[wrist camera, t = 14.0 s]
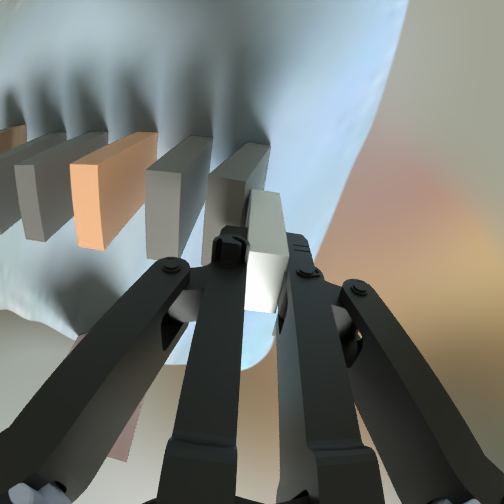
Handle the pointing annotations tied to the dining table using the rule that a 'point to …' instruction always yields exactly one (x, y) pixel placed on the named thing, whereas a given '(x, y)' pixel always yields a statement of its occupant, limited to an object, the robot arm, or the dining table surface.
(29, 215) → the domino
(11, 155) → the domino
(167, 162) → the domino
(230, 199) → the domino
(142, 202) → the orange rectangular block
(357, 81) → the dining table surface
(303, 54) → the dining table surface
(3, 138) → the block
